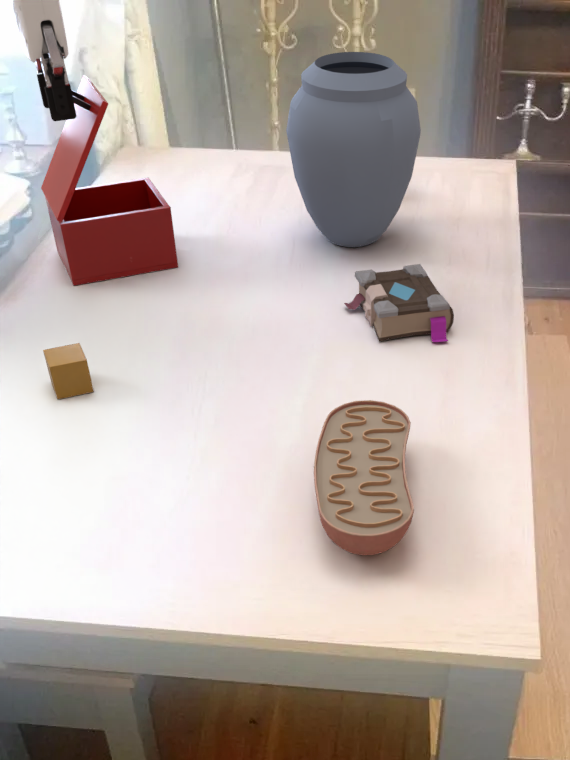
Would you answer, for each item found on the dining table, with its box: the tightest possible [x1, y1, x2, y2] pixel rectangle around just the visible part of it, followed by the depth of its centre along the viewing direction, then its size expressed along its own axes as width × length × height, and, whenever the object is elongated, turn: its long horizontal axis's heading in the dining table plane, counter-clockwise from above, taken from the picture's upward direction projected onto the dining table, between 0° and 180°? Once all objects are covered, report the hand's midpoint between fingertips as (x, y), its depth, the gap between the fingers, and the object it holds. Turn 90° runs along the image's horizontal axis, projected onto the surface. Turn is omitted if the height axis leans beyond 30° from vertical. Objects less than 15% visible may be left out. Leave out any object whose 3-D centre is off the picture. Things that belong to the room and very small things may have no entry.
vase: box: [285, 51, 422, 248], centre depth 132 cm, size 20×20×24 cm
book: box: [343, 263, 455, 343], centre depth 122 cm, size 20×12×5 cm, turn 14°
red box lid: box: [40, 74, 109, 222], centre depth 122 cm, size 16×13×5 cm
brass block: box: [42, 342, 95, 400], centre depth 108 cm, size 4×4×4 cm
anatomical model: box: [313, 399, 415, 556], centre depth 92 cm, size 23×10×5 cm, turn 178°
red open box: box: [44, 176, 179, 287], centre depth 132 cm, size 16×13×9 cm
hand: (59, 111), depth 120 cm, fingers closed on red box lid, 5 cm apart
